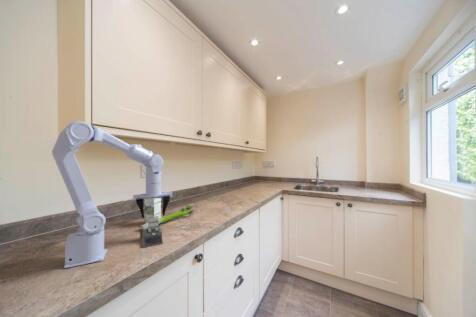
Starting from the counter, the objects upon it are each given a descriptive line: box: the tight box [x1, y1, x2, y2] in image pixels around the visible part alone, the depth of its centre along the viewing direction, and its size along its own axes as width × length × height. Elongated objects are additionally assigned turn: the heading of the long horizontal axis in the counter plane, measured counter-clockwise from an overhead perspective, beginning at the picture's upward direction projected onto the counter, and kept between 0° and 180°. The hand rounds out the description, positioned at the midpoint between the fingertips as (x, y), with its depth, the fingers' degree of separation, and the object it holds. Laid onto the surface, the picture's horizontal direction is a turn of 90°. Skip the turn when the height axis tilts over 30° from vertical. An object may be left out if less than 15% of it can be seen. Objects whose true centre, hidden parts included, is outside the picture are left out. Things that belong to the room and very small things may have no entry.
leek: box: [138, 205, 195, 230], centre depth 95 cm, size 6×7×30 cm
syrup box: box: [144, 196, 162, 224], centre depth 93 cm, size 6×6×14 cm
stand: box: [141, 226, 164, 249], centre depth 76 cm, size 7×17×4 cm, turn 28°
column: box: [148, 216, 160, 233], centre depth 75 cm, size 4×4×8 cm
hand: (153, 216), depth 75 cm, fingers open, 7 cm apart
